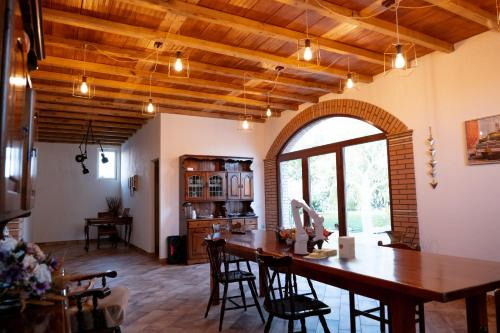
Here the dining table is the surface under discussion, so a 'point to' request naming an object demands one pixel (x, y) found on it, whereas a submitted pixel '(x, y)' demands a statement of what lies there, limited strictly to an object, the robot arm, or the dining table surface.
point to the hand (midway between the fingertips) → (319, 249)
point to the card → (316, 255)
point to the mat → (315, 257)
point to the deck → (326, 252)
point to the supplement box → (346, 247)
